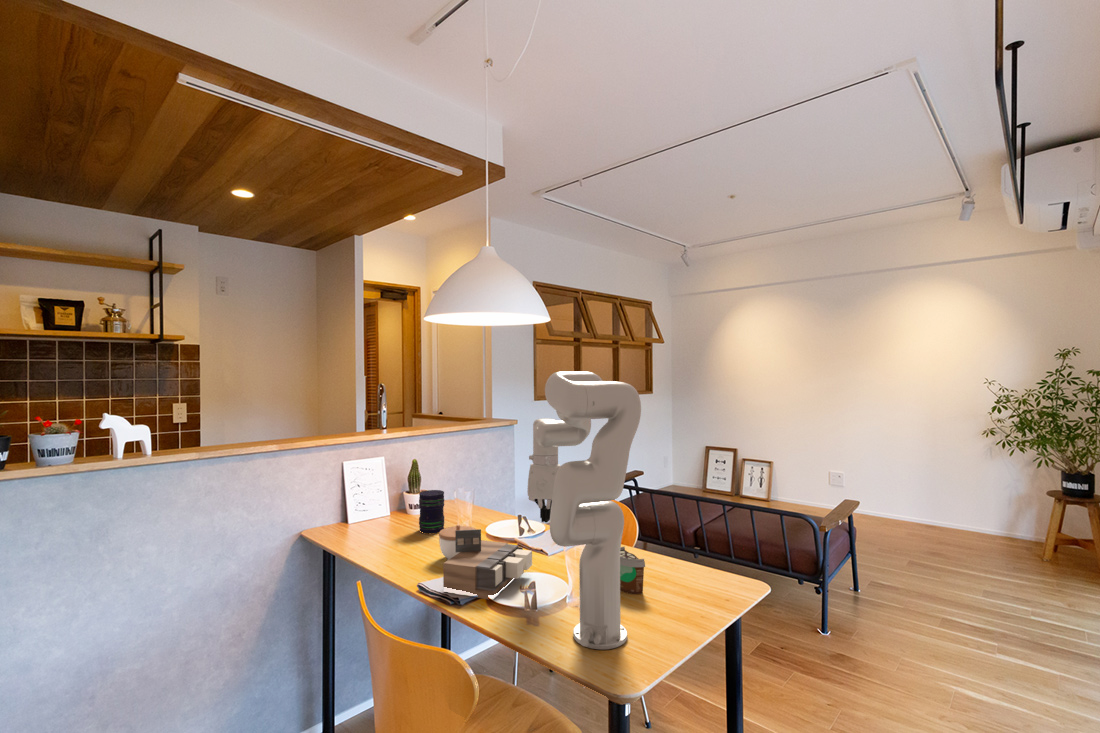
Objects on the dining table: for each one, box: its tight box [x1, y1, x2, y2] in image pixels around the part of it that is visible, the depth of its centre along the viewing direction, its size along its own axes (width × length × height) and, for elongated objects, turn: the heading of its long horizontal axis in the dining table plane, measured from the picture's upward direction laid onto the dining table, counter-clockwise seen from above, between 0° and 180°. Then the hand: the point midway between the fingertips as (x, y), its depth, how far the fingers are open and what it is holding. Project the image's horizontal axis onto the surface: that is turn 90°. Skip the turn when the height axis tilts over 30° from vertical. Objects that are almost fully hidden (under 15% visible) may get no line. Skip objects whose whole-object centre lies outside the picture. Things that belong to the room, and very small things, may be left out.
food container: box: [620, 546, 646, 595], centre depth 150 cm, size 12×6×10 cm, turn 21°
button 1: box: [491, 564, 502, 586], centre depth 147 cm, size 4×5×4 cm
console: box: [442, 528, 525, 600], centre depth 156 cm, size 22×17×15 cm
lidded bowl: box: [438, 524, 477, 561], centre depth 176 cm, size 13×13×11 cm
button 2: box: [513, 549, 533, 571], centre depth 159 cm, size 4×5×4 cm
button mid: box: [503, 557, 524, 580], centre depth 153 cm, size 4×5×4 cm
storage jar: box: [418, 489, 445, 534], centre depth 208 cm, size 10×10×15 cm
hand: (545, 520), depth 157 cm, fingers closed
